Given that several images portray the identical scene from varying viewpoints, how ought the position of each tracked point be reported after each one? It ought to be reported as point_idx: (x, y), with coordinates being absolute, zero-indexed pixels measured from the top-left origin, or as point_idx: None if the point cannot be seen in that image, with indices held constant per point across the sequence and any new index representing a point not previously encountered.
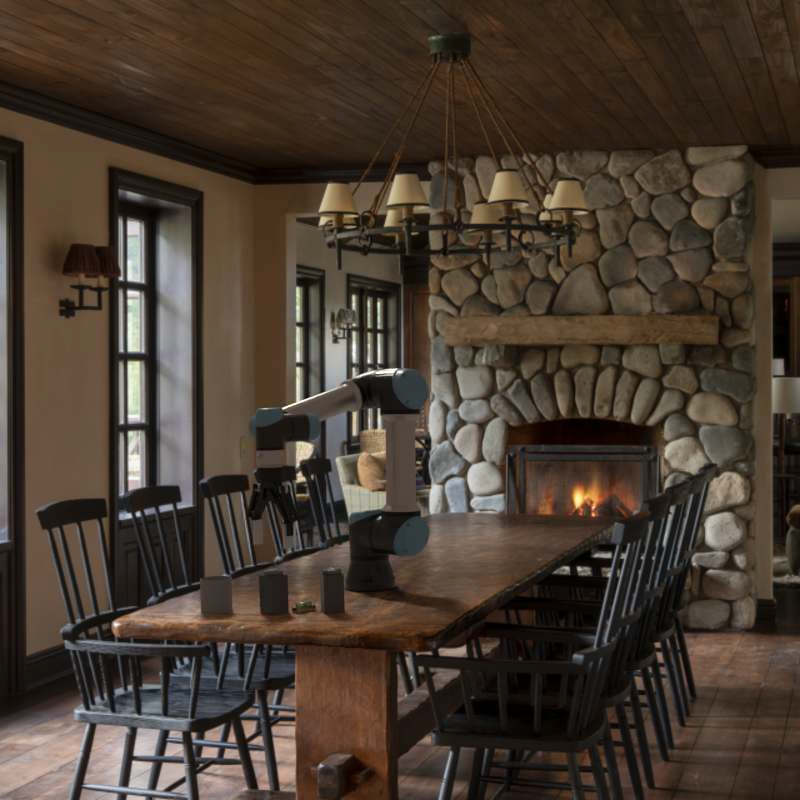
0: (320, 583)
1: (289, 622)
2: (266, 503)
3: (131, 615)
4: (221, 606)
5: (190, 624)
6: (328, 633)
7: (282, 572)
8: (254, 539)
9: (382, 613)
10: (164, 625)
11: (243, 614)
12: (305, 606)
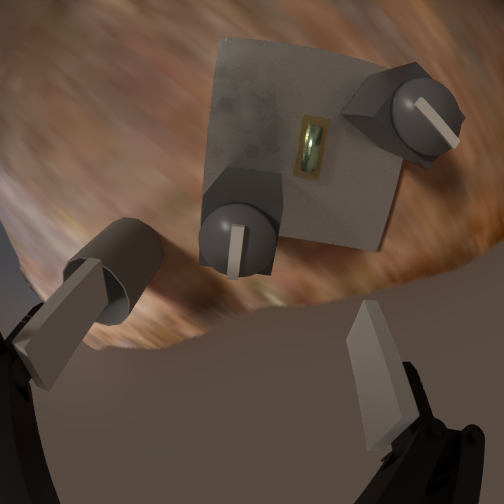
0: (368, 121)
1: None
2: (34, 496)
3: None
4: (153, 273)
5: (174, 324)
6: (456, 262)
7: (271, 225)
8: (94, 317)
9: (443, 46)
10: (151, 343)
11: (165, 211)
12: (320, 150)
